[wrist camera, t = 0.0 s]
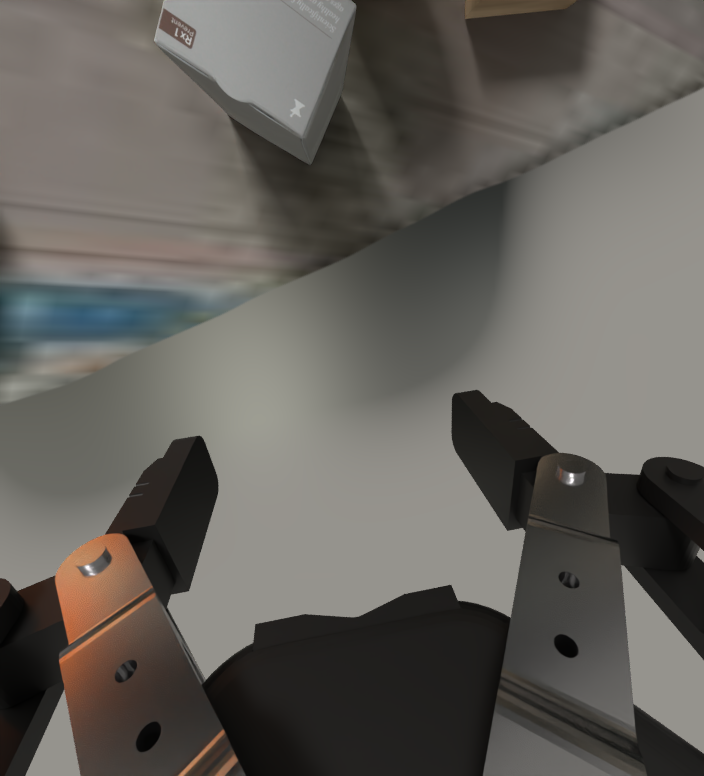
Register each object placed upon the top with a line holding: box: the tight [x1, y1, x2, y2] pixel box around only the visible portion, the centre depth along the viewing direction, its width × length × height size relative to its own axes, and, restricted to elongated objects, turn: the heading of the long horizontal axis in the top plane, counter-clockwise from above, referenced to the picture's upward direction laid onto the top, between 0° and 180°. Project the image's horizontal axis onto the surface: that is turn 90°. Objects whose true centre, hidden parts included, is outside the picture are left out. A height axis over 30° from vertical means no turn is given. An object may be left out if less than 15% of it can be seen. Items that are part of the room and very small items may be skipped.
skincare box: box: [154, 0, 356, 165], centre depth 24 cm, size 8×7×16 cm
